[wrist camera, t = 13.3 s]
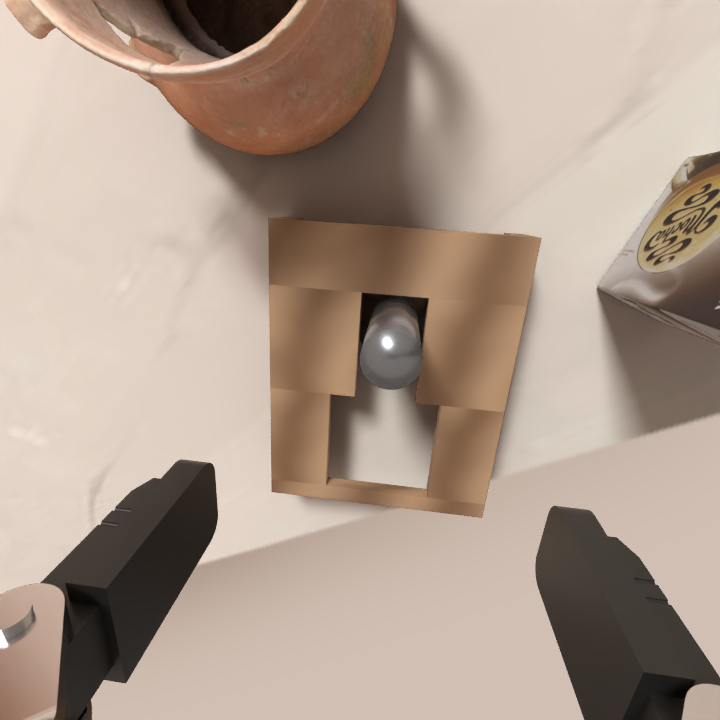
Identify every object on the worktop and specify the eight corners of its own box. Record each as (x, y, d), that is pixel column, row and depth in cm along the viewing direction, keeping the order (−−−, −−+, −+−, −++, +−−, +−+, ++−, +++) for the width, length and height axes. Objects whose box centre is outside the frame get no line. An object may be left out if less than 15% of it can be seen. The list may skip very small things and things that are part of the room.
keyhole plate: (522, 234, 27) (541, 238, 23) (473, 484, 34) (482, 517, 30) (286, 217, 28) (268, 218, 24) (285, 462, 35) (271, 491, 31)
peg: (442, 270, 28) (464, 304, 18) (431, 351, 30) (445, 423, 20) (357, 264, 29) (331, 292, 19) (352, 344, 31) (326, 410, 21)
